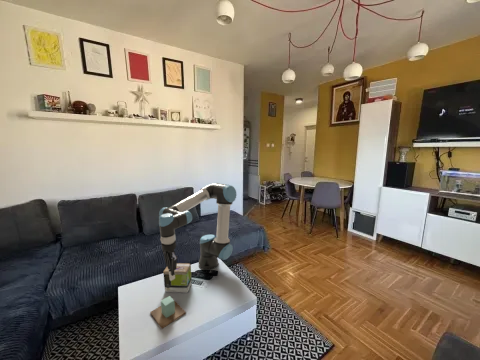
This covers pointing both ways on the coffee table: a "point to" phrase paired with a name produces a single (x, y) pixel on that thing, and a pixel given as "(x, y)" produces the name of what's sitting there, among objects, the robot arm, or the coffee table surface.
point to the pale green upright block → (167, 306)
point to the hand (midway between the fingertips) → (172, 279)
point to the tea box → (178, 278)
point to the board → (165, 321)
